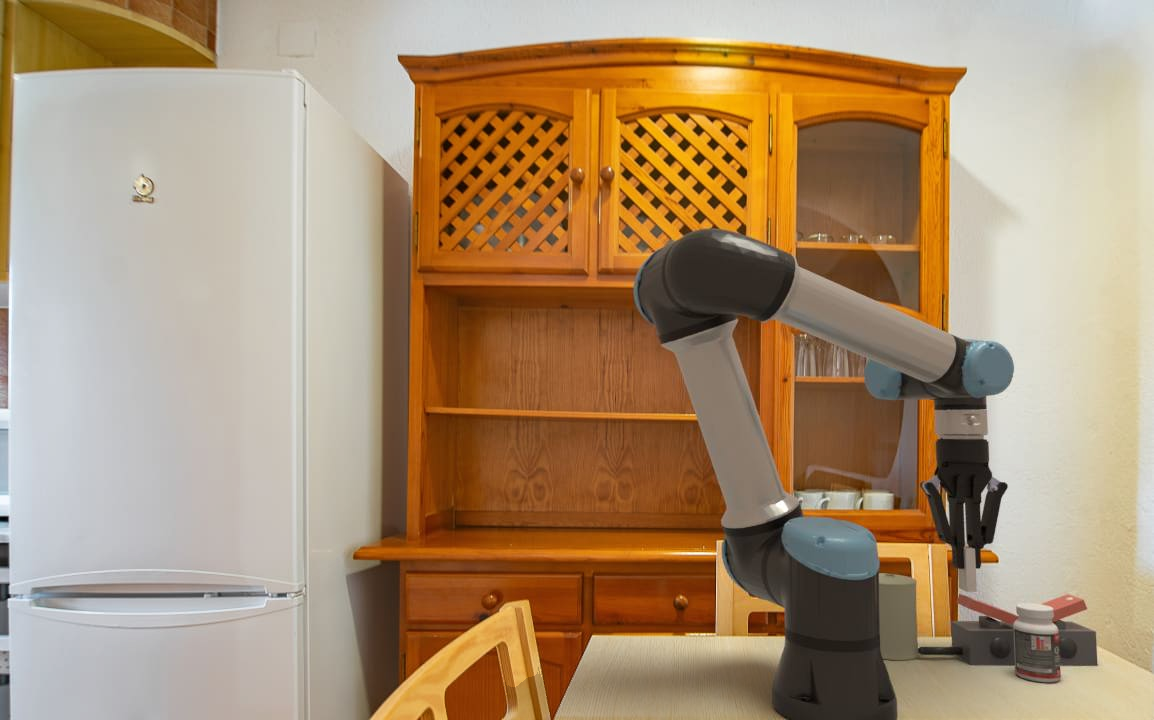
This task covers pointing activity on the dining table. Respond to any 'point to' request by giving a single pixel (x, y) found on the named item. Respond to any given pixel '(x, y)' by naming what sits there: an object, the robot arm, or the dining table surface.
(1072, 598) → the rocker
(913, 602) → the can
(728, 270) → the robot arm
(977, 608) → the rocker
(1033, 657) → the pill bottle
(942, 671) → the dining table surface
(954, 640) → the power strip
